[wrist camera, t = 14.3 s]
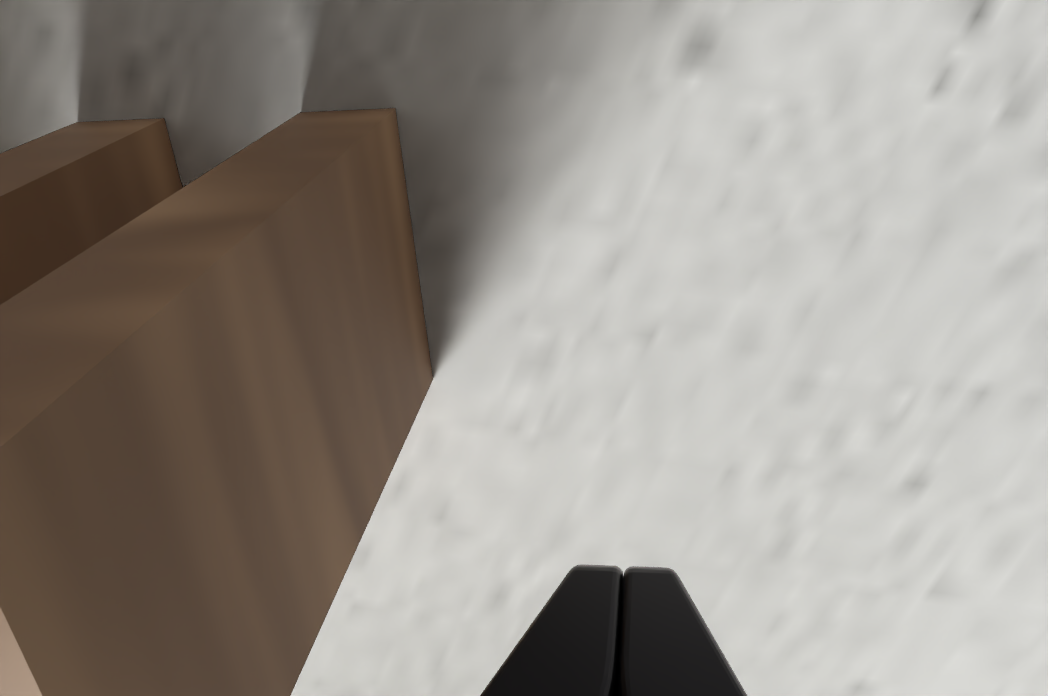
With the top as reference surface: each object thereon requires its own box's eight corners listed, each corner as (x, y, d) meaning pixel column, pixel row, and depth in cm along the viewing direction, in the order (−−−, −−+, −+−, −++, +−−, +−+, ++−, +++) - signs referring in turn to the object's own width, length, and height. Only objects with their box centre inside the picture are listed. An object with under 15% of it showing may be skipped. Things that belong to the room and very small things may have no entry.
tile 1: (395, 107, 14) (-55, 494, 5) (432, 379, 16) (169, 963, 7) (300, 112, 14) (-283, 487, 5) (350, 378, 16) (1, 943, 8)
